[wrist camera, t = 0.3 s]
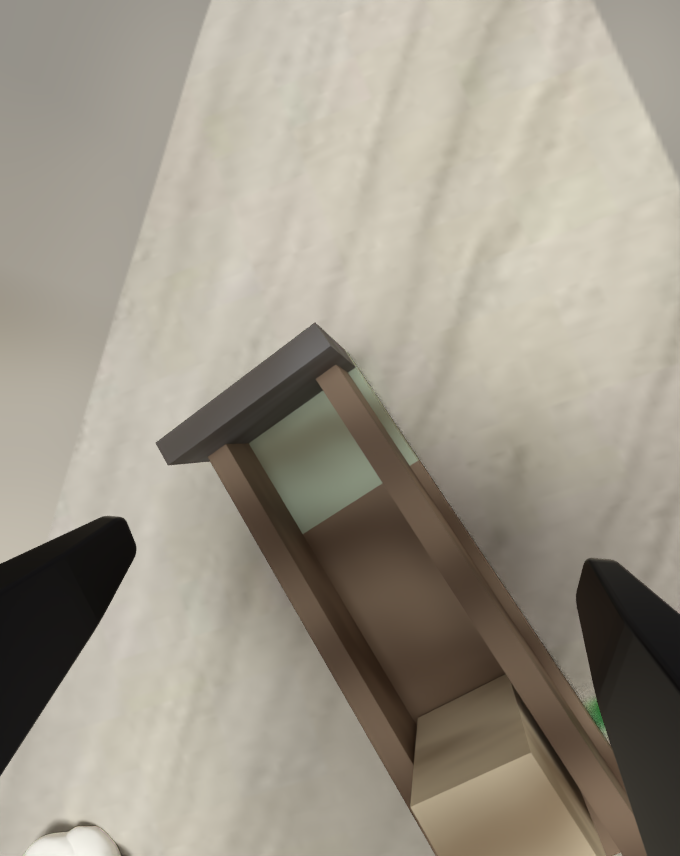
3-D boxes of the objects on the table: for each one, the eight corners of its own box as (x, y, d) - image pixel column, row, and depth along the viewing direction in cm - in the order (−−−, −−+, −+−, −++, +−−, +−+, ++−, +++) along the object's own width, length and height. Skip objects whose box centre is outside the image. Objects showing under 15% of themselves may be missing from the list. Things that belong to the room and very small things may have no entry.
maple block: (574, 775, 18) (622, 897, 13) (477, 817, 19) (489, 945, 14) (508, 672, 19) (531, 752, 14) (417, 718, 20) (410, 807, 15)
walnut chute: (655, 813, 18) (754, 986, 13) (481, 882, 20) (498, 1063, 14) (347, 352, 22) (315, 322, 17) (224, 442, 24) (155, 442, 18)
